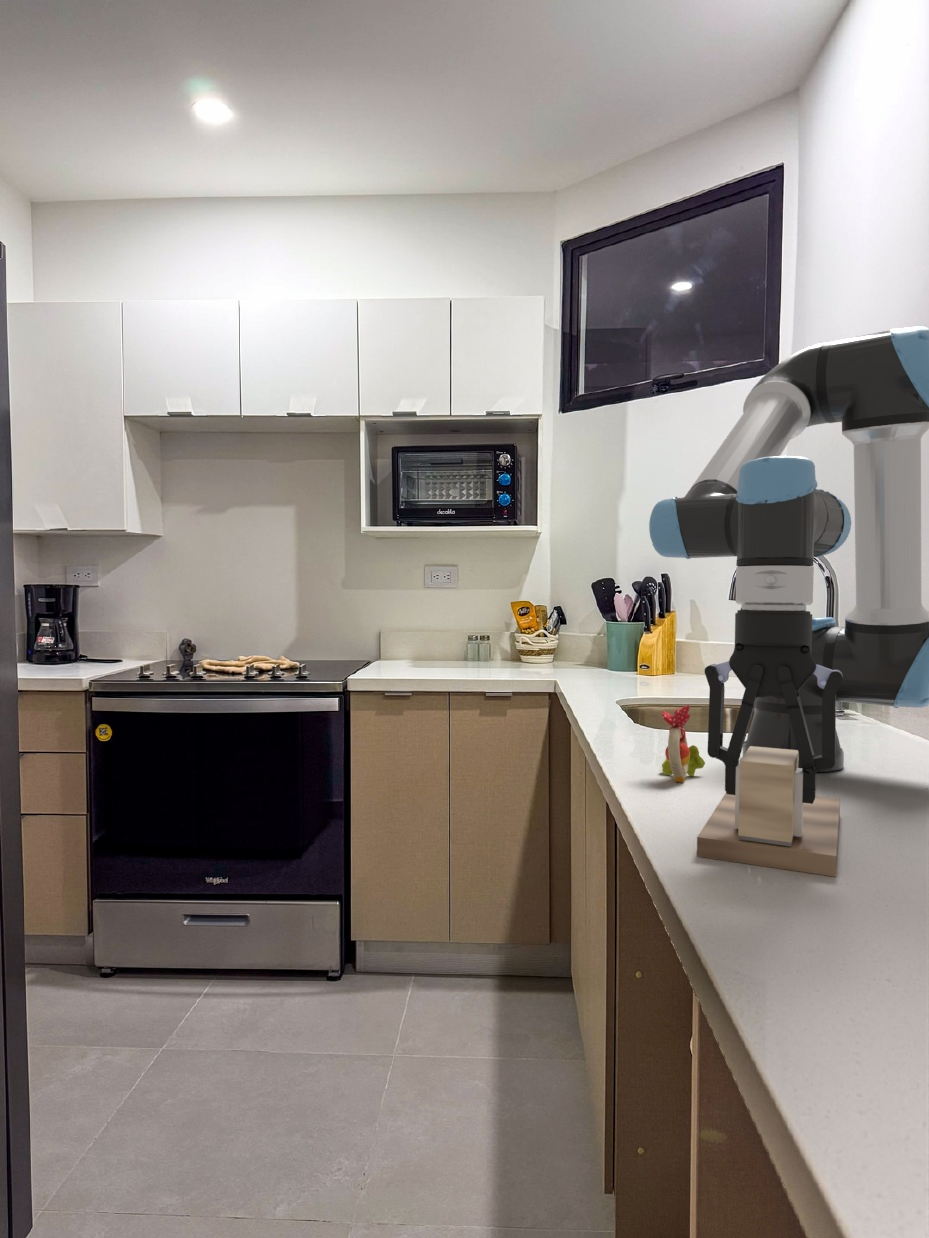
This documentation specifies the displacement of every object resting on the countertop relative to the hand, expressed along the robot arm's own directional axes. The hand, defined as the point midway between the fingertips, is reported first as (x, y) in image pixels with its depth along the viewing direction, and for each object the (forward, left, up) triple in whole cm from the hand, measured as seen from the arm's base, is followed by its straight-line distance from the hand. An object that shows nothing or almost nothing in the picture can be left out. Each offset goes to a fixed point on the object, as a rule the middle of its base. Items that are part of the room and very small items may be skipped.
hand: (768, 828), depth 84 cm
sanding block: (0, 0, 0) cm, 0 cm away
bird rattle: (-13, -30, -3) cm, 33 cm away
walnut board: (-5, -4, -2) cm, 7 cm away
